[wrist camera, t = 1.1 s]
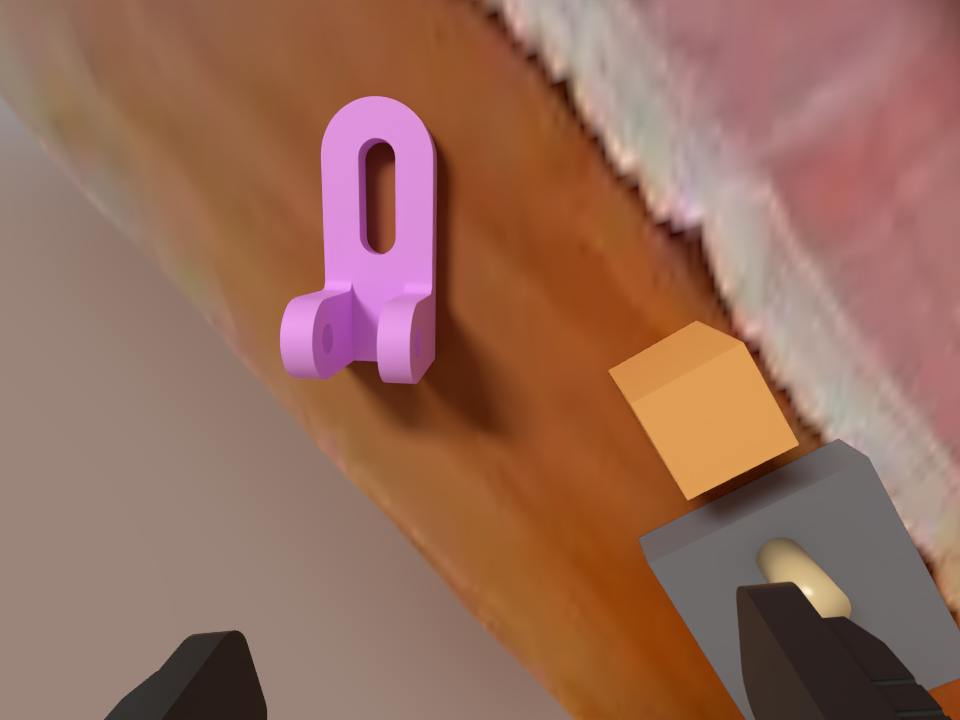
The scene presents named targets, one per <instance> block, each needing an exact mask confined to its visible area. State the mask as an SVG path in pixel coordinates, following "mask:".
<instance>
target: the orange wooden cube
mask: <svg viewBox="0 0 960 720" xmlns="http://www.w3.org/2000/svg"><path fill="white" fill-rule="evenodd" d="M608 371H609V373H610V375H611V376H612V378H613V380H614V381H615V383H616V385H617V386H618V388H619V390H620V391H621V393H622V395H623V396H624V398H625V400H626V401H627V403H628V405H629V406H630V408H631V410H632V411H633V413H634V415H635V417H636V418H637V420H638V422H639V423H640V425H641V427H642V428H643V430H644V432H645V433H646V435H647V437H648V438H649V440H650V442H651V443H652V445H653V447H654V448H655V450H656V452H657V453H658V455H659V456H660V458H661V459H662V461H663V463H664V464H665V466H666V467H667V469H668V470H669V472H670V474H671V475H672V477H673V478H674V480H675V481H676V483H677V485H678V486H679V488H680V489H681V491H682V492H683V494H684V496H685V497H686V499H687V500H690V499H692V498H694V497H696V496H698V495H700V494H702V493H704V492H706V491H708V490H710V489H712V488H714V487H716V486H718V485H720V484H721V483H723V482H725V481H727V480H729V479H731V478H733V477H735V476H737V475H739V474H741V473H743V472H745V471H747V470H749V469H751V468H753V467H755V466H757V465H759V464H761V463H763V462H765V461H767V460H769V459H771V458H773V457H775V456H777V455H779V454H781V453H783V452H785V451H787V450H789V449H791V448H793V447H795V446H797V445H799V443H798V442H797V440H796V438H795V436H794V434H793V432H792V431H791V429H790V427H789V425H788V423H787V421H786V420H785V418H784V416H783V414H782V412H781V410H780V409H779V407H778V405H777V403H776V401H775V399H774V398H773V396H772V394H771V392H770V390H769V389H768V387H767V385H766V383H765V381H764V379H763V378H762V376H761V374H760V372H759V370H758V368H757V367H756V365H755V363H754V361H753V359H752V357H751V356H750V354H749V352H748V350H747V348H746V346H745V345H744V343H743V342H741V341H739V340H737V339H735V338H733V337H731V336H729V335H726V334H724V333H722V332H720V331H718V330H716V329H714V328H711V327H709V326H707V325H705V324H703V323H701V322H699V321H695V322H693V323H691V324H690V325H688V326H686V327H684V328H682V329H681V330H679V331H677V332H675V333H674V334H672V335H670V336H668V337H667V338H665V339H663V340H661V341H659V342H658V343H656V344H654V345H652V346H651V347H649V348H647V349H645V350H644V351H642V352H640V353H638V354H637V355H635V356H633V357H631V358H629V359H628V360H626V361H624V362H622V363H621V364H619V365H617V366H615V367H614V368H612V369H610V370H608Z"/></svg>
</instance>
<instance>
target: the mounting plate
mask: <svg viewBox="0 0 960 720" xmlns="http://www.w3.org/2000/svg"><path fill="white" fill-rule="evenodd" d="M638 539H639V541H640V544H641V546H642V549H643V551H644V554H645V557H646V559H647V562H648V564H649V566H650V567H651V569H652V570H653V572H654V574H655V575H656V577H657V578H658V580H659V582H660V583H661V585H662V587H663V588H664V590H665V591H666V593H667V595H668V596H669V598H670V599H671V601H672V603H673V604H674V606H675V607H676V609H677V611H678V612H679V614H680V615H681V617H682V619H683V620H684V622H685V623H686V625H687V627H688V628H689V630H690V631H691V633H692V635H693V636H694V638H695V639H696V641H697V643H698V644H699V646H700V647H701V649H702V651H703V652H704V654H705V655H706V657H707V659H708V660H709V662H710V663H711V665H712V667H713V668H714V670H715V671H716V673H717V675H718V676H719V678H720V679H721V681H722V683H723V684H724V686H725V687H726V689H727V691H728V692H729V694H730V695H731V697H732V699H733V700H734V702H735V703H736V705H737V707H738V708H739V710H740V711H741V713H742V715H743V716H744V718H745V719H746V720H755V718H754V716H753V713H752V710H751V707H750V704H749V701H748V698H747V694H746V691H745V686H744V682H743V676H742V668H741V655H740V642H739V629H738V616H737V603H736V591H737V588H738V587H739V586H745V585H756V584H767V583H778V582H793V583H795V584H796V585H797V586H798V587H799V588H800V590H801V591H802V592H803V593H804V595H805V596H806V597H807V599H808V600H809V601H810V602H811V604H812V605H813V606H814V608H815V609H816V610H817V612H818V613H819V614H820V615H821V617H822V618H828V617H840V616H845V617H846V618H848V619H849V620H851V621H852V622H854V623H855V624H857V625H858V626H860V627H861V628H863V629H864V630H866V631H867V632H869V633H870V634H872V635H874V636H875V637H877V638H878V639H880V640H881V641H883V642H884V643H885V644H886V645H887V646H888V647H889V648H890V650H891V651H892V652H893V653H894V654H895V655H896V656H897V658H898V659H899V660H900V661H901V662H902V663H903V664H904V666H905V667H906V668H907V669H908V670H909V671H910V672H911V673H912V675H913V676H914V677H915V680H916V682H917V684H918V685H922V686H923V687H924V688H925V689H926V691H928V690H930V689H933V688H935V687H938V686H940V685H943V684H945V683H948V682H951V681H953V680H956V679H958V678H960V631H959V629H958V627H957V625H956V623H955V622H954V620H953V618H952V616H951V614H950V612H949V610H948V608H947V606H946V604H945V603H944V601H943V599H942V597H941V595H940V593H939V591H938V589H937V587H936V585H935V583H934V582H933V580H932V578H931V576H930V574H929V572H928V570H927V568H926V566H925V564H924V562H923V561H922V559H921V557H920V555H919V553H918V551H917V549H916V547H915V545H914V543H913V541H912V540H911V538H910V536H909V534H908V532H907V530H906V528H905V526H904V524H903V522H902V520H901V519H900V517H899V515H898V513H897V511H896V509H895V507H894V505H893V503H892V501H891V499H890V498H889V496H888V494H887V492H886V490H885V488H884V486H883V484H882V482H881V480H880V479H879V477H878V475H877V473H876V471H875V469H874V467H873V465H872V463H871V461H870V459H869V458H868V457H867V456H866V455H864V454H862V453H861V452H859V451H858V450H856V449H854V448H853V447H851V446H850V445H848V444H846V443H845V442H843V441H842V440H840V439H837V440H835V441H833V442H831V443H829V444H827V445H825V446H823V447H821V448H819V449H817V450H815V451H813V452H811V453H809V454H807V455H805V456H803V457H801V458H799V459H797V460H795V461H793V462H791V463H789V464H787V465H785V466H783V467H781V468H779V469H777V470H774V471H772V472H770V473H768V474H766V475H764V476H762V477H760V478H758V479H756V480H754V481H752V482H750V483H748V484H746V485H744V486H742V487H740V488H738V489H736V490H734V491H732V492H730V493H728V494H726V495H724V496H722V497H720V498H718V499H716V500H714V501H712V502H710V503H708V504H706V505H704V506H702V507H700V508H698V509H696V510H694V511H692V512H690V513H688V514H686V515H684V516H682V517H680V518H678V519H676V520H674V521H672V522H670V523H668V524H666V525H664V526H662V527H660V528H657V529H655V530H653V531H651V532H649V533H647V534H645V535H643V536H641V537H639V538H638Z"/></svg>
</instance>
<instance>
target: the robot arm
mask: <svg viewBox="0 0 960 720" xmlns="http://www.w3.org/2000/svg"><path fill="white" fill-rule="evenodd" d="M736 603H737V616H738V629H739V642H740V655H741V668H742V676H743V682H744V686H745V691H746V694H747V698H748V701H749V704H750V707H751V710H752V713H753V716H754V718H755V720H952V719H951V718H950V717H949V716H945V715H944V713H943V711H942V708H941V707H940V705H939V704H938V703H937V702H936V701H935V700H934V699H933V697H932V696H931V695H930V694H929V693H928V692H927V691H926V689H925V688H924V687H923V686H922V685H918V684H917V682H916V680H915V677H914V676H913V675H912V673H911V672H910V671H909V670H908V669H907V668H906V667H905V666H904V664H903V663H902V662H901V661H900V660H899V659H898V658H897V656H896V655H895V654H894V653H893V652H892V651H891V650H890V648H889V647H888V646H887V645H886V644H885V643H884V642H883V641H881V640H880V639H878V638H877V637H875V636H874V635H872V634H870V633H869V632H867V631H866V630H864V629H863V628H861V627H860V626H858V625H857V624H855V623H854V622H852V621H851V620H849V619H848V618H846V617H845V616H840V617H828V618H822V617H821V615H820V614H819V613H818V612H817V610H816V609H815V608H814V606H813V605H812V604H811V602H810V601H809V600H808V599H807V597H806V596H805V595H804V593H803V592H802V591H801V590H800V588H799V587H798V586H797V585H796V584H795V583H793V582H778V583H767V584H756V585H745V586H739V587H738V588H737V591H736ZM104 720H267V707H266V703H265V699H264V696H263V693H262V689H261V686H260V683H259V680H258V676H257V673H256V670H255V667H254V664H253V660H252V657H251V654H250V651H249V648H248V644H247V641H246V639H245V637H244V635H243V634H242V633H241V632H239V631H236V630H234V631H223V632H214V633H213V632H212V633H201V634H193V635H191V636H189V637H188V638H186V639H185V640H184V641H183V642H182V643H181V645H180V646H179V647H178V648H177V650H176V651H175V652H174V653H173V654H172V655H171V657H170V658H169V659H168V660H167V661H166V662H165V664H164V665H163V666H162V667H161V669H160V670H159V671H157V672H155V673H154V674H153V675H151V676H150V677H149V678H148V679H146V680H145V681H144V682H143V683H142V684H140V685H139V686H138V687H136V688H135V689H134V690H133V691H131V692H130V693H129V694H128V695H126V696H125V697H124V698H123V699H122V700H121V701H120V702H119V703H118V704H117V705H116V706H115V708H114V709H113V710H112V711H111V712H110V713H109V714H108V716H107V717H106V718H105V719H104Z"/></svg>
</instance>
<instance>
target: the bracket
mask: <svg viewBox="0 0 960 720" xmlns="http://www.w3.org/2000/svg"><path fill="white" fill-rule="evenodd" d="M381 142H384V143H389V144H390V145H391V146H392V148H393V150H394V152H395V166H396V241H395V244H394V246H393V248H392V249H391V250H390V251H389V252H387V253H385V254H380V253H377V252H375V251H374V250H373V249H372V248H371V247H370V245H369V243H368V241H367V224H366V169H365V159H366V154H367V152H368V150H369V149H370V148H371V147H372V146H373V145H375V144H377V143H381ZM321 168H322V196H323V224H324V252H325V287H324V289H323V290H322V291H318V292H315V293H311V294H307V295H303V296H299V297H296V298H294V299H292V300H291V301H290V303H289V304H288V306H287V308H286V310H285V312H284V316H283V319H282V324H281V333H280V348H281V356H282V360H283V364H284V366H285V369H286V371H287V372H288V374H289V375H290V376H291V377H293V378H306V379H329V378H330V377H332V376H333V375H334V374H336V373H337V372H338V371H340V370H341V369H343V368H344V367H345V366H347V365H348V364H349V363H351V362H352V361H354V360H357V361H377V362H378V369H379V373H380V377H381V379H382V381H383V382H387V383H407V384H417V383H418V382H419V380H420V379H421V378H422V376H423V375H424V373H425V372H426V371H427V369H428V368H429V367H430V365H431V364H432V362H433V361H434V360H435V319H436V226H437V154H436V148H435V144H434V141H433V139H432V136H431V134H430V132H429V131H428V129H427V127H426V126H425V125H424V123H423V122H422V121H421V120H420V119H419V117H418V116H417V115H416V114H415V113H414V112H413V111H412V110H410V109H409V108H408V107H407V106H405V105H404V104H402V103H400V102H398V101H396V100H393V99H390V98H386V97H380V96H371V97H365V98H360V99H358V100H355V101H353V102H351V103H349V104H347V105H346V106H344V107H343V108H342V109H341V110H340V111H339V112H338V113H337V114H336V115H335V116H334V117H333V119H332V120H331V122H330V123H329V125H328V127H327V129H326V131H325V134H324V137H323V142H322V148H321Z"/></svg>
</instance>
